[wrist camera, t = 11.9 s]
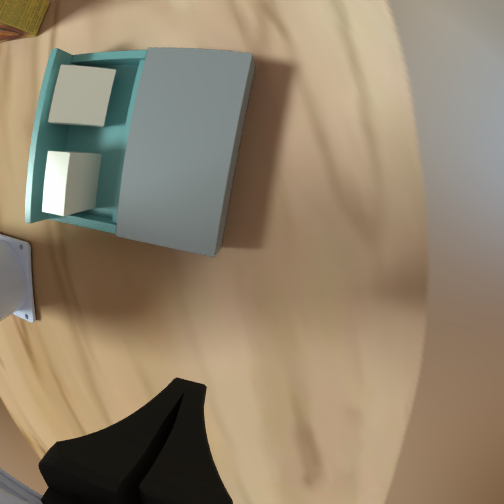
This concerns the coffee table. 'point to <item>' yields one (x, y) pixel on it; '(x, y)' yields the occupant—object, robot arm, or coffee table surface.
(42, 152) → the box
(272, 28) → the coffee table surface
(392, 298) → the coffee table surface
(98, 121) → the tile
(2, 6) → the candy box
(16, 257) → the robot arm
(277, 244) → the coffee table surface
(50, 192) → the tile
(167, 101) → the grey flat block
